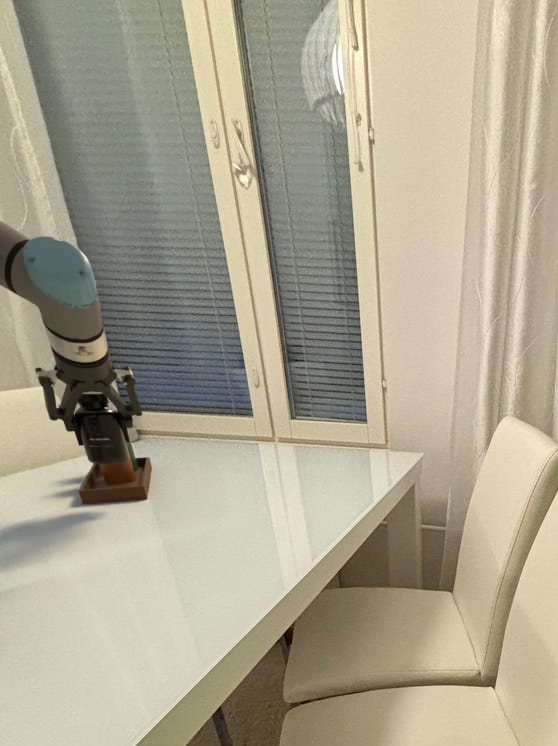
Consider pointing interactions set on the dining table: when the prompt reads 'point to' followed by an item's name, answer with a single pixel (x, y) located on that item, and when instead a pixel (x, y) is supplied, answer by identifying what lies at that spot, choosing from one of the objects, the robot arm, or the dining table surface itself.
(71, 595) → the dining table surface
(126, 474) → the row bottles
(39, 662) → the dining table surface
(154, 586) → the dining table surface
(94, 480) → the tray
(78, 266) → the robot arm
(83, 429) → the supplement bottle
